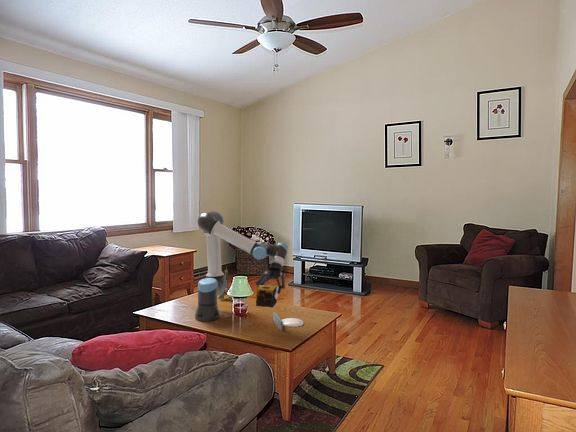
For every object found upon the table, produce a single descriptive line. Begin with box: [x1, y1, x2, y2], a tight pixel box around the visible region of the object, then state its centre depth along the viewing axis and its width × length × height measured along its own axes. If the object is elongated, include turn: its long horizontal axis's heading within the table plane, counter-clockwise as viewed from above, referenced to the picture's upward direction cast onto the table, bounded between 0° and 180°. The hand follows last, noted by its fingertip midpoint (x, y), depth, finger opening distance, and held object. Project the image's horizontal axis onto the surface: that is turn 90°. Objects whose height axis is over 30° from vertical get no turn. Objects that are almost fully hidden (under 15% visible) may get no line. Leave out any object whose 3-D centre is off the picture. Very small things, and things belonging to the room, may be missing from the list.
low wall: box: [272, 311, 284, 331], centre depth 236 cm, size 1×18×5 cm, turn 16°
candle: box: [255, 284, 278, 308], centre depth 229 cm, size 10×10×10 cm
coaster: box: [281, 317, 305, 328], centre depth 240 cm, size 14×14×1 cm
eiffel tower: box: [217, 264, 233, 303], centre depth 286 cm, size 11×11×25 cm
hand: (266, 297), depth 230 cm, fingers closed on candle, 10 cm apart
